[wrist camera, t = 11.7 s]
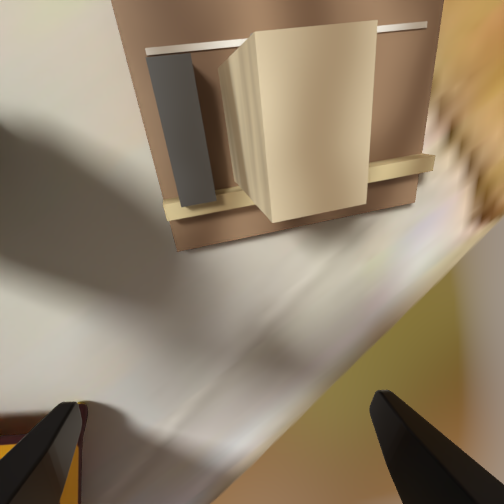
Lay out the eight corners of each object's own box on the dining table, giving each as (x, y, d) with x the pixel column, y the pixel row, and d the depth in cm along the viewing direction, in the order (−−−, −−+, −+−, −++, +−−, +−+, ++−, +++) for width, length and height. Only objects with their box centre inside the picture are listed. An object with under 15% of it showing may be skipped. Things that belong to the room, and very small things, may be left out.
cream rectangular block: (234, 180, 18) (272, 223, 11) (213, 40, 15) (249, -23, 8) (294, 169, 19) (366, 203, 12) (287, 33, 16) (380, -31, 9)
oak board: (177, 244, 20) (177, 265, 18) (109, -16, 14) (92, -49, 11) (403, 198, 23) (435, 210, 20) (432, -36, 17) (484, -65, 14)
